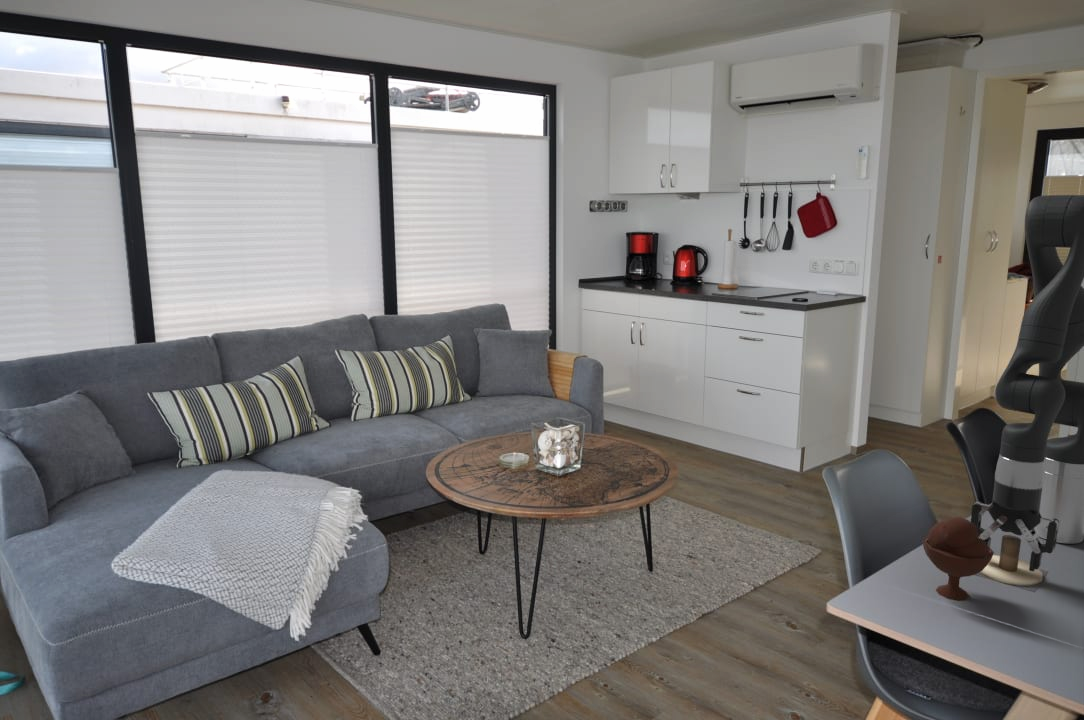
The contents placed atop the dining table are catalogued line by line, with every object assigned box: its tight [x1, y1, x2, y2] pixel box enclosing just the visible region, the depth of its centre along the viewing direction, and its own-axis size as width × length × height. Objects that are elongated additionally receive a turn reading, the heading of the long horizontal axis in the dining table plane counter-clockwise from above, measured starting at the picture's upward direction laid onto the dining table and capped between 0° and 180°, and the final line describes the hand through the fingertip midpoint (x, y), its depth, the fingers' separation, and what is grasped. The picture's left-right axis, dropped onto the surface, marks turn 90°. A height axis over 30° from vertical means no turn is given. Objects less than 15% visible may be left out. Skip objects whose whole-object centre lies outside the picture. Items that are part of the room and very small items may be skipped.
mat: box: [974, 568, 1049, 593], centre depth 145 cm, size 11×11×1 cm
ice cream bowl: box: [922, 516, 995, 602], centre depth 135 cm, size 11×11×15 cm
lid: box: [979, 534, 1043, 586], centre depth 144 cm, size 11×11×7 cm
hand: (1008, 563), depth 144 cm, fingers open, 7 cm apart
